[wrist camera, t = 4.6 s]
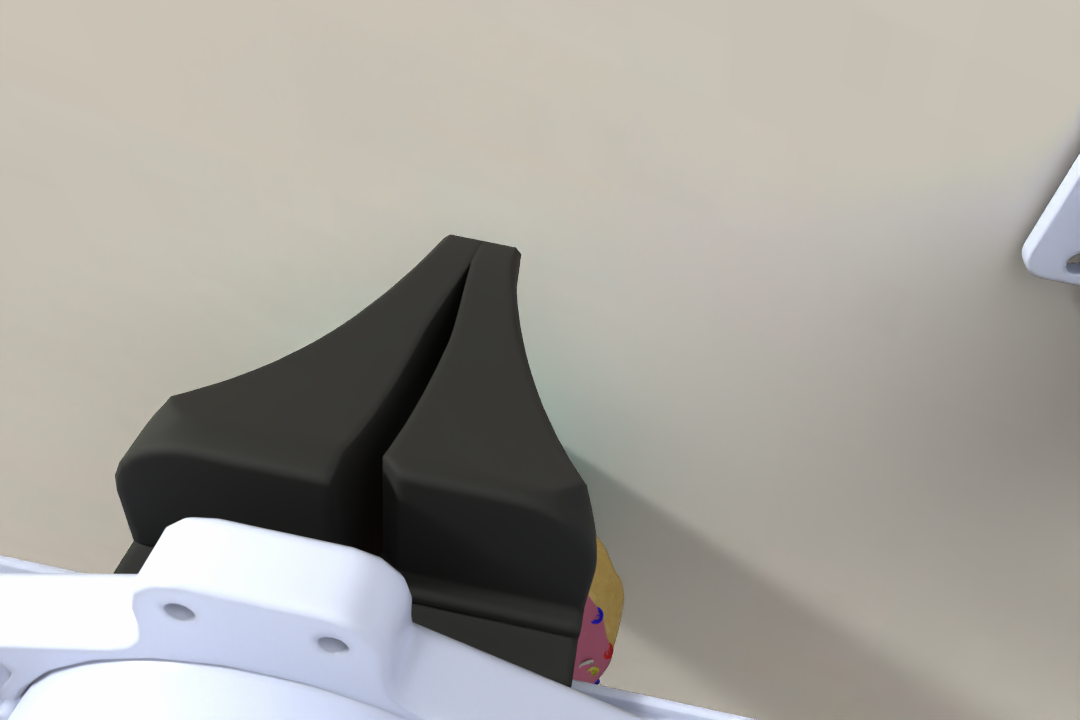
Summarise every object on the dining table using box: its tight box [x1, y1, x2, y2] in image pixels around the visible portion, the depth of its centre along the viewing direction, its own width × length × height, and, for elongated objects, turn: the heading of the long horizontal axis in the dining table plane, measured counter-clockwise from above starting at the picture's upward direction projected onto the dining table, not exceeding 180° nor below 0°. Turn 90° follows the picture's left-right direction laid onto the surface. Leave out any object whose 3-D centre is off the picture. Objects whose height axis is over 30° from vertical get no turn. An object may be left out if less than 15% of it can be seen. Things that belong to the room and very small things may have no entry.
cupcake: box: [573, 536, 624, 685], centre depth 19 cm, size 9×8×12 cm
